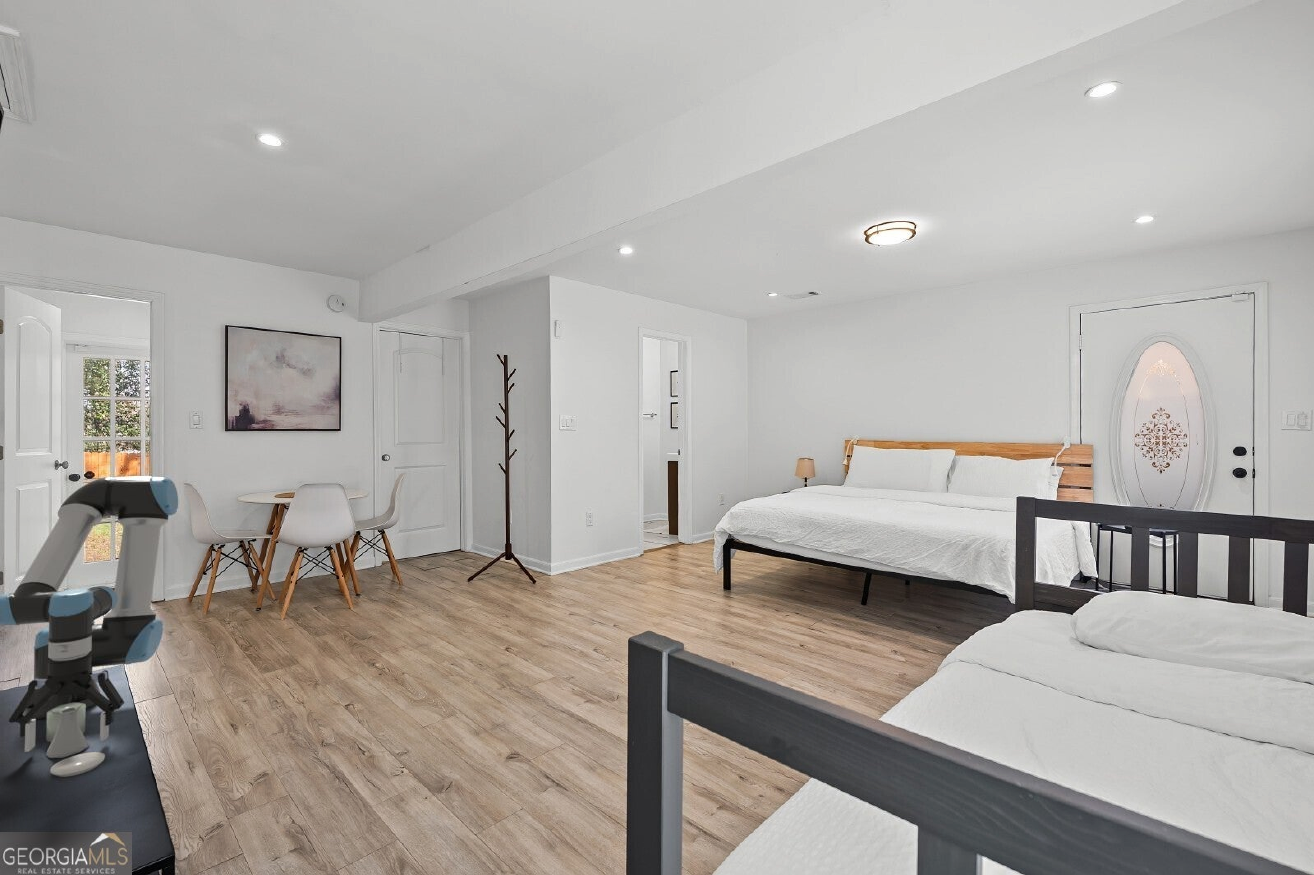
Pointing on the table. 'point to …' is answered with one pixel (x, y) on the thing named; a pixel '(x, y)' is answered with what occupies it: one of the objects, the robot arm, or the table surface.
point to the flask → (67, 736)
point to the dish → (77, 764)
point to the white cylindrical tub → (54, 717)
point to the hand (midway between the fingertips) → (67, 743)
